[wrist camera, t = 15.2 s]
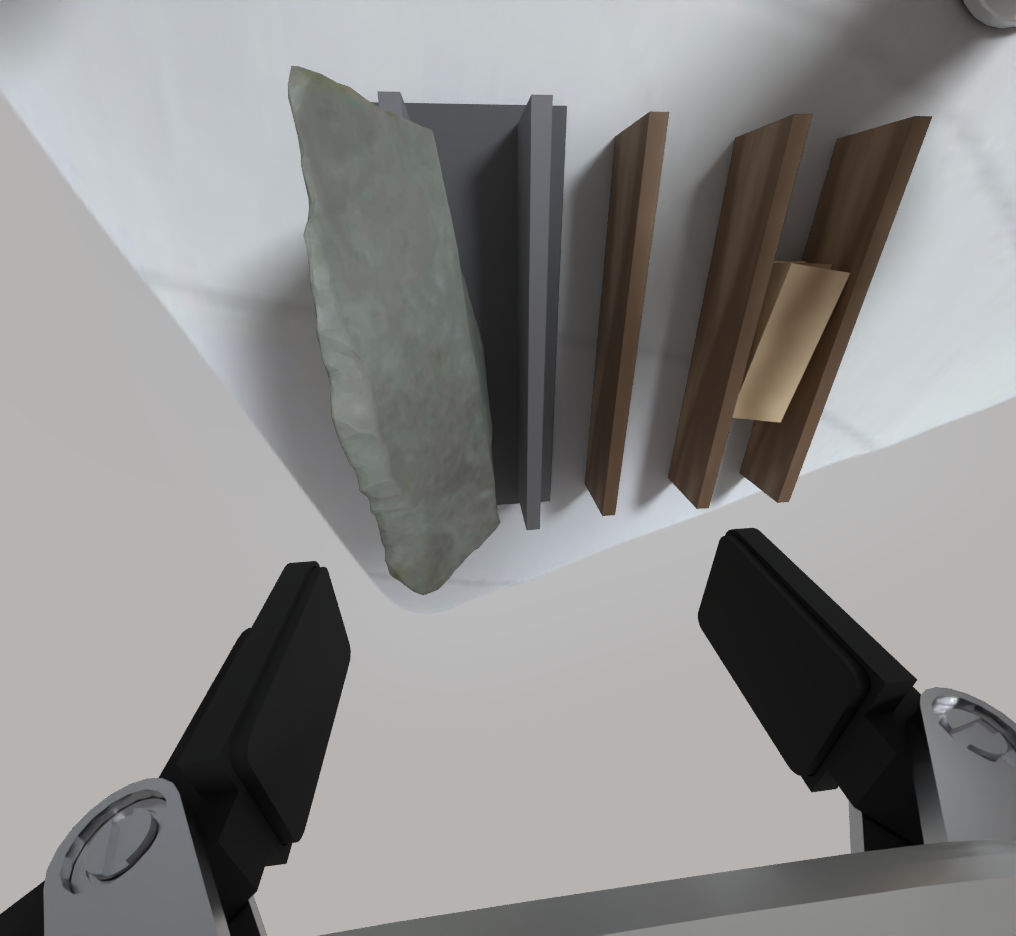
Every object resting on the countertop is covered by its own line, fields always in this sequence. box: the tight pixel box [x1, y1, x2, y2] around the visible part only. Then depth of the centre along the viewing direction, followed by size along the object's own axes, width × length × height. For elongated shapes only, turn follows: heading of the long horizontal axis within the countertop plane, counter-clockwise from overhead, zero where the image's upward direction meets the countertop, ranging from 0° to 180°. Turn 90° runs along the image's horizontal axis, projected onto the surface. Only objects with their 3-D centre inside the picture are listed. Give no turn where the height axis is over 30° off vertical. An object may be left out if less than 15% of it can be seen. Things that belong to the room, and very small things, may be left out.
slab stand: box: [371, 92, 567, 530], centre depth 32 cm, size 14×32×7 cm, turn 1°
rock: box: [288, 66, 500, 595], centre depth 26 cm, size 27×6×20 cm, turn 5°
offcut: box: [733, 263, 850, 423], centre depth 34 cm, size 5×12×2 cm, turn 172°
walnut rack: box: [585, 112, 932, 516], centre depth 34 cm, size 19×29×6 cm, turn 1°
